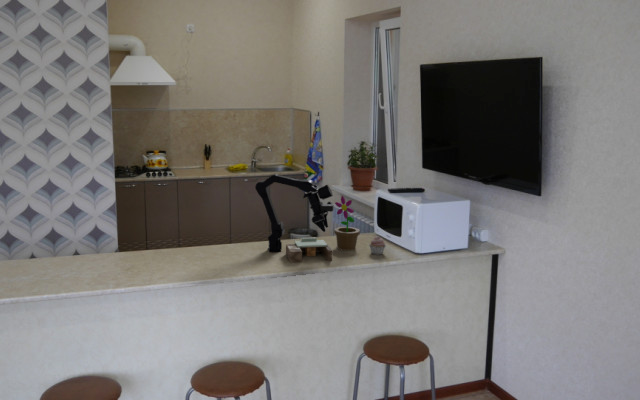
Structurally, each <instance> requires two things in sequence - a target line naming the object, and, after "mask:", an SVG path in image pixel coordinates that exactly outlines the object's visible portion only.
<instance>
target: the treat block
mask: <svg viewBox="0 0 640 400" xmlns="http://www.w3.org/2000/svg"><path fill="white" fill-rule="evenodd" d="M315 251H316V247H306V253H305V255H306V256H307V257H315V256H316V252H315Z"/></svg>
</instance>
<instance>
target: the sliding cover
mask: <svg viewBox="0 0 640 400" xmlns="http://www.w3.org/2000/svg"><path fill="white" fill-rule="evenodd" d="M293 242H294V244H296V246H297V247H325V246H327V245H328V243H327V242H326V241H325V240H324V239H318V238H317V237H315V236H314V237H301V240H293ZM325 242H326V243H327V244H326V243H325Z"/></svg>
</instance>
